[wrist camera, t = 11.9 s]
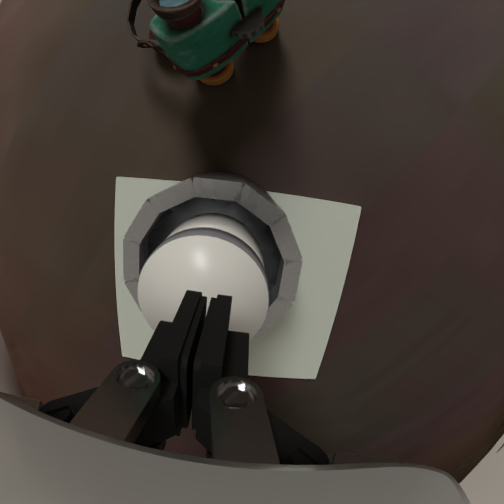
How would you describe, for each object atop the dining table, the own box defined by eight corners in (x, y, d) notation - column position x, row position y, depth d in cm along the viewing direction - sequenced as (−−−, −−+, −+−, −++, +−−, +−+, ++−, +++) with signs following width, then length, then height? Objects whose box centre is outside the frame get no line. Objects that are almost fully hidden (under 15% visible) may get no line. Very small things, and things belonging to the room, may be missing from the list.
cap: (271, 218, 17) (280, 244, 13) (256, 312, 19) (259, 361, 15) (165, 206, 17) (136, 227, 12) (162, 300, 19) (139, 345, 14)
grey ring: (298, 182, 21) (315, 193, 15) (275, 310, 24) (282, 353, 19) (155, 165, 20) (125, 171, 15) (150, 294, 23) (127, 333, 18)
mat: (359, 206, 22) (361, 207, 21) (314, 376, 27) (315, 378, 26) (118, 176, 21) (116, 177, 20) (123, 353, 26) (122, 356, 25)
